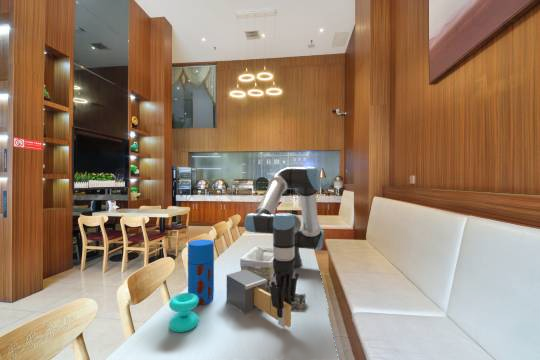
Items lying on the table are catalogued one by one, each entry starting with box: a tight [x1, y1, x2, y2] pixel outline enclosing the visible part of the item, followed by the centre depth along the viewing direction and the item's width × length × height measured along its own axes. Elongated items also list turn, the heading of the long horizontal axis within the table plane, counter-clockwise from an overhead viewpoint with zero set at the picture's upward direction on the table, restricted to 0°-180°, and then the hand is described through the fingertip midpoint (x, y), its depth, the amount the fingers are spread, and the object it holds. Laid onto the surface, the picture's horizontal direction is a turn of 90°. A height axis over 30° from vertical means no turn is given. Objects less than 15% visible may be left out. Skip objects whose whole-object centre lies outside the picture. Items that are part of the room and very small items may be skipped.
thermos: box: [187, 239, 215, 307], centre depth 110 cm, size 11×11×25 cm
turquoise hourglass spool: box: [168, 292, 200, 333], centre depth 91 cm, size 10×10×10 cm
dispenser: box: [226, 270, 267, 315], centre depth 106 cm, size 15×10×11 cm, turn 40°
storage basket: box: [239, 246, 274, 292], centre depth 130 cm, size 24×16×15 cm
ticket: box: [253, 286, 292, 328], centre depth 95 cm, size 22×1×7 cm, turn 40°
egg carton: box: [291, 292, 307, 310], centre depth 106 cm, size 11×8×4 cm
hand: (283, 324), depth 89 cm, fingers closed on ticket
